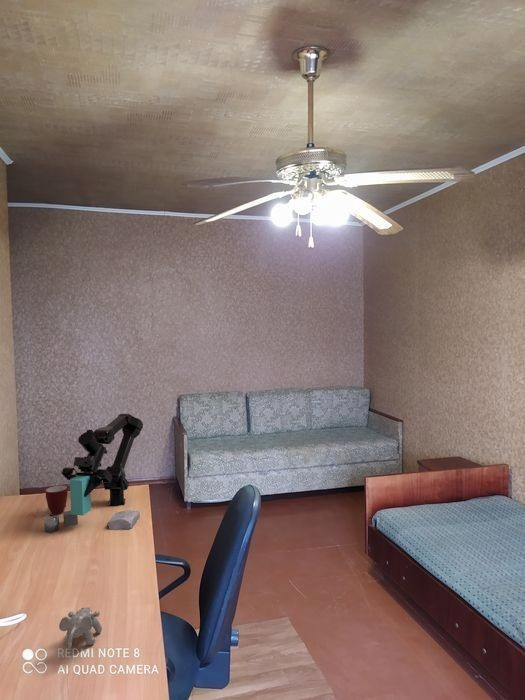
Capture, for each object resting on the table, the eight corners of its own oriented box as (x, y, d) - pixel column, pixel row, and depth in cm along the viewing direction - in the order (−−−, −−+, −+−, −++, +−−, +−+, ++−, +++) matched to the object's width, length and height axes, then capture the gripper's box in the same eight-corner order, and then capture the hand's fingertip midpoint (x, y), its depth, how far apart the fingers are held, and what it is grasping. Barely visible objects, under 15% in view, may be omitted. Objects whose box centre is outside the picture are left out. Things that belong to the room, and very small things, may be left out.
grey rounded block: (46, 528, 184) (45, 514, 184) (60, 526, 185) (59, 513, 185) (43, 533, 179) (42, 519, 179) (58, 531, 181) (57, 518, 180)
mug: (46, 509, 203) (45, 485, 202) (67, 506, 206) (66, 482, 206) (46, 518, 193) (45, 493, 193) (68, 515, 196) (67, 490, 196)
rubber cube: (63, 523, 189) (63, 511, 188) (76, 520, 191) (75, 509, 191) (65, 527, 185) (64, 515, 184) (77, 524, 187) (77, 513, 187)
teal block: (79, 509, 187) (78, 475, 186) (90, 510, 186) (89, 476, 185) (71, 514, 182) (69, 479, 181) (82, 515, 181) (81, 480, 180)
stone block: (107, 535, 181) (133, 529, 181) (104, 522, 181) (131, 516, 181) (117, 523, 193) (142, 518, 193) (114, 511, 193) (139, 506, 193)
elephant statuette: (101, 627, 123) (100, 596, 123) (103, 654, 112) (101, 620, 112) (61, 636, 120) (60, 605, 120) (59, 665, 109) (57, 630, 109)
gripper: (63, 446, 188) (45, 484, 178) (107, 448, 184) (91, 487, 174) (76, 461, 196) (60, 498, 186) (118, 463, 192) (104, 501, 182)
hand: (78, 495), depth 182 cm, fingers closed on teal block, 5 cm apart
